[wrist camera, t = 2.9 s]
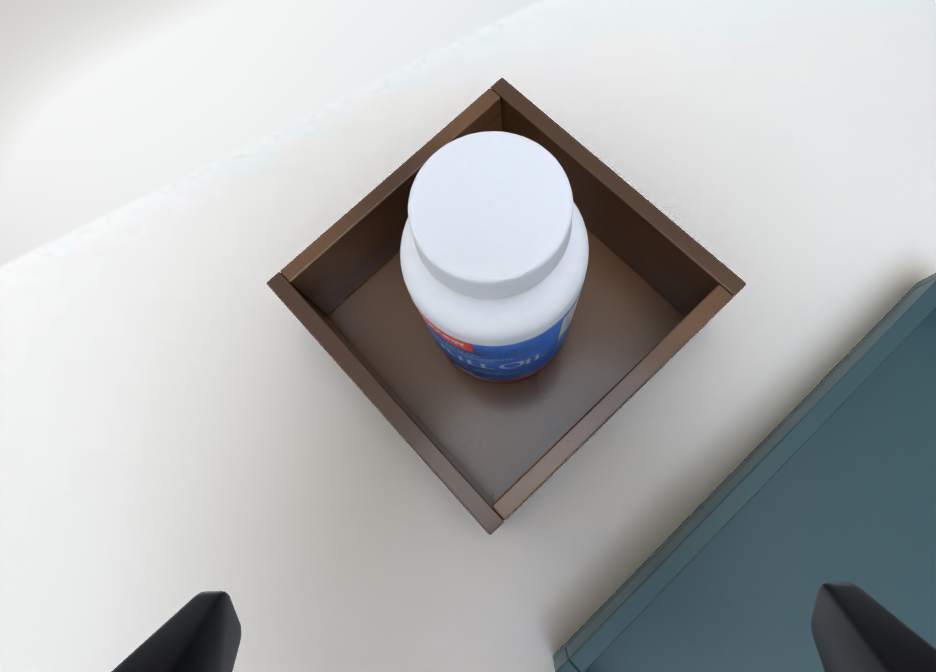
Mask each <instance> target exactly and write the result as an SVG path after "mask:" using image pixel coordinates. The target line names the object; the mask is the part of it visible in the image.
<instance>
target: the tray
mask: <svg viewBox="0 0 936 672" xmlns="http://www.w3.org/2000/svg"><path fill="white" fill-rule="evenodd" d="M826 582H849V583H853V584H855V585H856V586H858V587H859V588H861V589H862V590H863V591H864V592H866V593H867V594H868V595H869V596H871V597H872V598H873V599H874V600H876V601H877V602H878V603H879V604H881V605H882V606H883V607H884V608H886V609H887V610H888V611H889V612H891V613H892V614H893V615H894V616H896V617H897V618H898V619H899V620H901V621H902V622H903V623H904V624H906V625H907V626H908V627H909V628H911V629H912V630H913V631H914V632H915V633H917V634H918V635H919V636H920V637H922V638H923V639H924V640H925V641H927V642H928V643H929V644H930V645H932V646H933V647H934V648H935V649H936V273H935V274H933V275H931V276H930V277H928V278H926V279H924V280H922V281H920V282H918V283H917V284H916V285H915V286H914V287H913V288H912V289H911V290H910V291H909V292H908V293H907V294H906V295H905V296H904V297H903V299H902V300H901V301H900V302H899V303H898V304H897V305H896V306H895V307H894V308H893V309H892V310H891V311H890V312H889V313H888V314H887V315H886V316H885V317H884V318H883V319H882V320H881V321H880V322H879V323H878V324H877V325H876V326H875V327H874V328H873V329H872V330H871V331H870V332H869V333H868V334H867V335H866V336H865V337H864V338H863V339H862V341H861V342H860V343H859V344H858V345H857V346H856V347H855V348H854V349H853V350H852V351H851V352H850V353H849V354H848V355H847V356H846V357H845V358H844V359H843V360H842V361H841V362H840V363H839V364H838V365H837V366H836V367H835V368H834V369H833V370H832V371H831V372H830V373H829V374H828V375H827V376H826V377H825V378H824V379H823V380H822V381H821V383H820V384H819V385H818V386H817V387H816V388H815V389H814V390H813V391H812V392H811V393H810V394H809V395H808V396H807V397H806V398H805V399H804V400H803V401H802V402H801V403H800V404H799V405H798V406H797V407H796V408H795V409H794V410H793V411H792V412H791V413H790V414H789V415H788V416H787V417H786V418H785V419H784V420H783V421H782V422H781V423H780V425H779V426H778V427H777V428H776V429H775V430H774V431H773V432H772V433H771V434H770V435H769V436H768V437H767V438H766V439H765V440H764V441H763V442H762V443H761V444H760V445H759V446H758V447H757V448H756V449H755V450H754V451H753V452H752V453H751V454H750V455H749V456H748V457H747V458H746V459H745V460H744V461H743V462H742V463H741V464H740V465H739V467H738V468H737V469H736V470H735V471H734V472H733V473H732V474H731V475H730V476H729V477H728V478H727V479H726V480H725V481H724V482H723V483H722V484H721V485H720V486H719V487H718V488H717V489H716V490H715V491H714V492H713V493H712V494H711V495H710V496H709V497H708V498H707V499H706V500H705V501H704V502H703V503H702V504H701V505H700V506H699V508H698V509H697V510H696V511H695V512H694V513H693V514H692V515H691V516H690V517H689V518H688V519H687V520H686V521H685V522H684V523H683V524H682V525H681V526H680V527H679V528H678V529H677V530H676V531H675V532H674V533H673V534H672V535H671V536H670V537H669V538H668V539H667V540H666V541H665V542H664V543H663V544H662V545H661V546H660V547H659V548H658V550H657V551H656V552H655V553H654V554H653V555H652V556H651V557H650V558H649V559H648V560H647V561H646V562H645V563H644V564H643V565H642V566H641V567H640V568H639V569H638V570H637V571H636V572H635V573H634V574H633V575H632V576H631V577H630V578H629V579H628V580H627V581H626V582H625V583H624V584H623V585H622V586H621V587H620V588H619V589H618V590H617V592H616V593H615V594H614V595H613V596H612V597H611V598H610V599H609V600H608V601H607V602H606V603H605V604H604V605H603V606H602V607H601V608H600V609H599V610H598V611H597V612H596V613H595V614H594V615H593V616H592V617H591V618H590V619H589V620H588V621H587V622H586V623H585V624H584V625H583V626H582V627H581V628H580V629H579V630H578V631H577V632H576V634H575V635H574V636H573V637H572V638H571V639H570V640H569V641H568V642H567V643H566V644H565V645H564V646H563V647H562V648H561V649H560V650H559V651H558V652H557V653H556V654H555V655H554V656H553V660H554V666H555V672H825V670H824V667H823V664H822V662H821V659H820V656H819V653H818V650H817V647H816V644H815V641H814V638H813V634H812V629H811V619H812V614H813V610H814V606H815V602H816V598H817V594H818V590H819V587H820V586H821V585H822V584H823V583H826Z"/></svg>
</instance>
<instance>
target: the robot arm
mask: <svg viewBox="0 0 936 672" xmlns="http://www.w3.org/2000/svg"><path fill="white" fill-rule="evenodd" d="M811 629H812V634H813V638H814V641H815V644H816V647H817V650H818V653H819V656H820V659H821V662H822V664H823V667H824V670H825V672H936V649H935V648H934V647H933V646H932V645H930V644H929V643H928V642H927V641H925V640H924V639H923V638H922V637H920V636H919V635H918V634H917V633H915V632H914V631H913V630H912V629H911V628H909V627H908V626H907V625H906V624H904V623H903V622H902V621H901V620H899V619H898V618H897V617H896V616H894V615H893V614H892V613H891V612H889V611H888V610H887V609H886V608H884V607H883V606H882V605H881V604H879V603H878V602H877V601H876V600H874V599H873V598H872V597H871V596H869V595H868V594H867V593H866V592H864V591H863V590H862V589H861V588H859V587H858V586H856V585H855V584H853V583H849V582H826V583H823V584H822V585H821V586H820V587H819V590H818V594H817V598H816V602H815V606H814V610H813V614H812V619H811ZM240 639H241V625H240V622H239V619H238V617H237V614H236V612H235V609H234V606H233V604H232V601H231V599H230V596H229V595H228V594H227V593H226V592H224V591H206V592H201V593H199V594H198V595H196V596H195V597H194V598H193V599H191V600H190V601H189V602H188V603H187V604H186V605H185V606H184V607H183V608H181V609H180V610H179V611H178V612H177V613H176V614H175V615H174V616H173V617H171V618H170V619H169V620H168V621H167V622H166V623H165V624H164V625H163V626H161V627H160V628H159V629H158V630H157V631H156V632H155V633H154V634H153V635H152V636H150V637H149V638H148V639H147V640H146V641H145V642H144V643H143V644H142V645H140V646H139V647H138V648H137V649H136V650H135V651H134V652H133V653H132V654H130V655H129V656H128V657H127V658H126V659H125V660H124V661H123V662H122V663H120V664H119V665H118V666H117V667H116V668H115V669H114V670H113V671H112V672H232V671H233V667H234V663H235V659H236V655H237V652H238V648H239V644H240Z"/></svg>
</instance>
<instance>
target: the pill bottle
mask: <svg viewBox="0 0 936 672" xmlns="http://www.w3.org/2000/svg"><path fill="white" fill-rule="evenodd" d="M588 257H589V244H588V236H587V231H586V227H585V224H584V221H583V218H582V216H581V214H580V212H579V210H578V208H577V206H576V205H575V203H574V202H573V196H572V190H571V187H570V183H569V180H568V178H567V176H566V174H565V172H564V170H563V168H562V167H561V165H560V164H559V162H558V161H557V160H556V159H555V157H554V156H553V155H552V154H551V153H550V152H548V151H547V150H546V149H545V148H543V147H542V146H541V145H539V144H538V143H536V142H534V141H532V140H530V139H528V138H526V137H523V136H520V135H517V134H512V133H508V132H500V131H487V132H478V133H473V134H469V135H466V136H463V137H460V138H458V139H456V140H453V141H451V142H449V143H448V144H446V145H444V146H443V147H442V148H440V149H439V150H438V151H436V152H435V153H434V154H433V155H432V156H431V157H430V158H429V159H428V160H427V161H426V163H425V164H424V165H423V166H422V168H421V169H420V171H419V172H418V174H417V176H416V178H415V180H414V182H413V185H412V188H411V190H410V196H409V201H408V219H407V221H406V224H405V227H404V230H403V234H402V239H401V248H400V261H401V268H402V274H403V278H404V281H405V284H406V286H407V289H408V291H409V293H410V295H411V298H412V300H413V302H414V304H415V306H416V307H417V309H418V311H419V312H420V314H421V316H422V317H423V319H424V321H425V323H426V325H427V326H428V328H429V330H430V331H431V333H432V335H433V337H434V339H435V341H436V343H437V345H438V346H439V348H440V349H441V351H442V352H443V354H444V355H445V356H446V357H447V358H448V359H449V360H450V362H452V363H453V364H454V365H455V366H456V367H457V368H459V369H460V370H462V371H463V372H465V373H467V374H468V375H471V376H473V377H475V378H478V379H481V380H485V381H491V382H510V381H516V380H519V379H523V378H525V377H528V376H530V375H532V374H534V373H536V372H537V371H539V370H541V369H542V368H543V367H545V366H546V365H547V364H548V363H549V362H550V361H551V360H552V359H553V358H554V357H555V355H556V354H557V353H558V351H559V350H560V348H561V347H562V345H563V343H564V341H565V339H566V336H567V334H568V331H569V328H570V324H571V321H572V318H573V314H574V311H575V308H576V305H577V302H578V299H579V296H580V293H581V290H582V287H583V284H584V279H585V275H586V271H587V265H588Z"/></svg>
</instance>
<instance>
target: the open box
mask: <svg viewBox="0 0 936 672" xmlns="http://www.w3.org/2000/svg"><path fill="white" fill-rule="evenodd" d="M487 131H500V132H508V133H512V134H517V135H520V136H523V137H526V138H528V139H530V140H532V141H534V142H536V143H538V144H539V145H541V146H542V147H543V148H545V149H546V150H547V151H548V152H550V153H551V154H552V155H553V156H554V157H555V159H556V160H557V161H558V162H559V164H560V165H561V167H562V168H563V170H564V172H565V174H566V176H567V178H568V180H569V183H570V187H571V190H572V196H573V202H574V203H575V205H576V206H577V208H578V210H579V212H580V214H581V216H582V218H583V221H584V224H585V227H586V231H587V236H588V244H589V257H588V265H587V271H586V275H585V279H584V284H583V287H582V290H581V293H580V296H579V299H578V302H577V305H576V308H575V311H574V314H573V318H572V321H571V324H570V328H569V331H568V334H567V336H566V339H565V341H564V343H563V345H562V347H561V348H560V350H559V351H558V353H557V354H556V355H555V357H554V358H553V359H552V360H551V361H550V362H549V363H548V364H547V365H546V366H545V367H543V368H542V369H541V370H539V371H537V372H536V373H534V374H532V375H530V376H528V377H525V378H523V379H519V380H516V381H510V382H491V381H485V380H481V379H478V378H475V377H473V376H471V375H468V374H467V373H465V372H463V371H462V370H460V369H459V368H457V367H456V366H455V365H454V364H453V363H452V362H450V360H449V359H448V358H447V357H446V356H445V355H444V354H443V352H442V351H441V349H440V348H439V346H438V345H437V343H436V341H435V339H434V337H433V335H432V333H431V331H430V330H429V328H428V326H427V325H426V323H425V321H424V319H423V317H422V316H421V314H420V312H419V311H418V309H417V307H416V306H415V304H414V302H413V300H412V298H411V295H410V293H409V291H408V289H407V286H406V284H405V281H404V278H403V274H402V268H401V261H400V248H401V239H402V234H403V230H404V227H405V224H406V221H407V219H408V201H409V196H410V190H411V188H412V185H413V182H414V180H415V178H416V176H417V174H418V172H419V171H420V169H421V168H422V166H423V165H424V164H425V163H426V161H427V160H428V159H429V158H430V157H431V156H432V155H433V154H434V153H435V152H436V151H438V150H439V149H440V148H442V147H443V146H444V145H446V144H448V143H449V142H451V141H453V140H456V139H458V138H460V137H463V136H466V135H469V134H473V133H478V132H487ZM267 285H268V286H269V287H270V288H271V289H272V290H273V292H274V293H275V294H276V295H277V296H278V297H279V298H280V299H281V301H282V302H283V303H284V304H285V305H286V306H287V307H288V308H289V310H290V311H291V312H292V313H293V314H294V315H295V316H296V317H297V319H298V320H299V321H300V322H301V323H302V324H303V325H304V326H305V328H306V329H307V330H308V331H309V332H310V333H311V334H312V335H313V337H314V338H315V339H316V340H317V341H318V342H319V343H320V344H321V346H322V347H323V348H324V349H325V350H326V351H327V352H328V354H329V355H330V356H331V357H332V358H333V359H334V360H335V361H336V363H337V364H338V365H339V366H340V367H341V368H342V369H343V370H344V372H345V373H346V374H347V375H348V376H349V377H350V378H351V379H352V381H353V382H354V383H355V384H356V385H357V386H358V387H359V388H360V390H361V391H362V392H363V393H364V394H365V395H366V396H367V397H368V399H369V400H370V401H371V402H372V403H373V404H374V405H375V406H376V408H377V409H378V410H379V411H380V412H381V413H382V414H383V416H384V417H385V418H386V419H387V420H388V421H389V422H390V423H391V425H392V426H393V427H394V428H395V429H396V430H397V431H398V432H399V434H400V435H401V436H402V437H403V438H404V439H405V440H406V441H407V443H408V444H409V445H410V446H411V447H412V448H413V449H414V450H415V452H416V453H417V454H418V455H419V456H420V457H421V458H422V459H423V461H424V462H425V463H426V464H427V465H428V466H429V467H430V469H431V470H432V471H433V472H434V473H435V474H436V475H437V476H438V478H439V479H440V480H441V481H442V482H443V483H444V484H445V485H446V487H447V488H448V489H449V490H450V491H451V492H452V493H453V494H454V496H455V497H456V498H457V499H458V500H459V501H460V502H461V503H462V505H463V506H464V507H465V508H466V509H467V510H468V511H469V512H470V514H471V515H472V516H473V517H474V518H475V519H476V520H477V521H478V523H479V524H480V525H481V526H482V527H483V528H484V529H485V531H486V532H487V533H488V534H489V535H491V534H492V533H493V532H494V531H495V530H497V529H498V528H499V527H500V526H501V525H502V524H503V523H504V522H505V521H506V520H507V519H508V518H509V517H510V516H511V515H512V514H513V513H514V512H515V511H516V510H517V509H518V508H519V507H520V506H521V505H522V504H523V503H524V502H525V501H526V500H527V499H528V498H529V497H530V496H531V495H532V494H533V493H534V492H535V491H536V490H537V489H538V488H539V487H540V486H541V485H542V484H543V483H545V482H546V481H547V480H548V479H549V478H550V477H551V476H552V475H553V474H554V473H555V472H556V471H557V470H558V469H559V468H560V467H561V466H562V465H563V464H564V463H565V462H566V461H567V460H568V459H569V458H570V457H571V456H572V455H573V454H574V453H575V452H576V451H577V450H578V449H579V448H580V447H581V446H582V445H583V444H584V443H585V442H586V441H587V440H588V439H589V438H590V437H591V436H592V435H593V434H594V433H596V432H597V431H598V430H599V429H600V428H601V427H602V426H603V425H604V424H605V423H606V422H607V421H608V420H609V419H610V418H611V417H612V416H613V415H614V414H615V413H616V412H617V411H618V410H619V409H620V408H621V407H622V406H623V405H624V404H625V403H626V402H627V401H628V400H629V399H630V398H631V397H632V396H633V395H634V394H635V393H636V392H637V391H638V390H639V389H640V388H641V387H642V386H643V385H644V384H646V383H647V382H648V381H649V380H650V379H651V378H652V377H653V376H654V375H655V374H656V373H657V372H658V371H659V370H660V369H661V368H662V367H663V366H664V365H665V364H666V363H667V362H668V361H669V360H670V359H671V358H672V357H673V356H674V355H675V354H676V353H677V352H678V351H679V350H680V349H681V348H682V347H683V346H684V345H685V344H686V343H687V342H688V341H689V340H690V339H691V338H692V337H693V336H694V335H695V334H697V333H698V332H699V331H700V330H701V329H702V328H703V327H704V326H705V325H706V324H707V323H708V322H709V321H710V320H711V319H712V318H713V317H714V316H715V315H716V314H717V313H718V312H719V311H720V310H721V309H722V308H723V307H724V306H725V305H726V304H727V303H728V302H729V301H730V300H731V299H732V298H733V297H734V296H735V295H736V294H737V293H738V292H739V291H740V290H741V289H742V288H743V287H744V286H745V285H746V283H745V282H744V281H743V280H741V279H740V278H739V277H738V276H737V275H736V274H734V273H733V272H732V271H731V270H730V269H728V268H727V267H726V266H725V265H724V264H723V263H721V262H720V261H719V260H718V259H717V258H715V257H714V256H713V255H712V254H711V253H709V252H708V251H707V250H706V249H705V248H704V247H702V246H701V245H700V244H699V243H698V242H696V241H695V240H694V239H693V238H692V237H690V236H689V235H688V234H687V233H686V232H685V231H683V230H682V229H681V228H680V227H679V226H677V225H676V224H675V223H674V222H673V221H672V220H670V219H669V218H668V217H667V216H666V215H664V214H663V213H662V212H661V211H660V210H658V209H657V208H656V207H655V206H654V205H653V204H651V203H650V202H649V201H648V200H647V199H645V198H644V197H643V196H642V195H641V194H640V193H638V192H637V191H636V190H635V189H634V188H632V187H631V186H630V185H629V184H628V183H626V182H625V181H624V180H623V179H622V178H621V177H619V176H618V175H617V174H616V173H615V172H613V171H612V170H611V169H610V168H609V167H608V166H606V165H605V164H604V163H603V162H602V161H600V160H599V159H598V158H597V157H596V156H594V155H593V154H592V153H591V152H590V151H589V150H587V149H586V148H585V147H584V146H583V145H581V144H580V143H579V142H578V141H577V140H575V139H574V138H573V137H572V136H571V135H570V134H568V133H567V132H566V131H565V130H564V129H562V128H561V127H560V126H559V125H558V124H557V123H555V122H554V121H553V120H552V119H551V118H549V117H548V116H547V115H546V114H545V113H543V112H542V111H541V110H540V109H539V108H538V107H536V106H535V105H534V104H533V103H532V102H530V101H529V100H528V99H527V98H526V97H525V96H523V95H522V94H521V93H520V92H519V91H517V90H516V89H515V88H514V87H513V86H511V85H510V84H509V83H508V82H507V81H506V80H504V79H503V78H501V79H500V80H499V81H497V82H496V83H495V84H494V85H493V86H492V87H491V89H488V90H487V91H486V92H485V93H484V94H483V95H481V96H480V97H479V98H478V99H477V100H476V101H475V102H473V103H472V104H471V105H470V106H469V107H468V108H467V109H465V110H464V111H463V112H462V113H461V114H460V115H459V116H457V117H456V118H455V119H454V120H453V121H452V122H451V123H449V124H448V125H447V126H446V127H445V128H444V129H443V130H441V131H440V132H439V133H438V134H437V135H436V136H435V137H433V138H432V139H431V140H430V141H429V142H428V143H427V144H425V145H424V146H423V147H422V148H421V149H420V150H419V151H417V152H416V153H415V154H414V155H413V156H412V157H411V158H409V159H408V160H407V161H406V162H405V163H404V164H402V165H401V166H400V167H399V168H398V169H397V170H396V171H394V172H393V173H392V174H391V175H390V176H389V177H388V178H386V179H385V180H384V181H383V182H382V183H381V184H380V185H378V186H377V187H376V188H375V189H374V190H373V191H372V192H370V193H369V194H368V195H367V196H366V197H365V198H364V199H362V200H361V201H360V202H359V203H358V204H357V205H356V206H354V207H353V208H352V209H351V210H350V211H349V212H348V213H346V214H345V215H344V216H343V217H342V218H341V219H340V220H338V221H337V222H336V223H335V224H334V225H333V226H332V227H330V228H329V229H328V230H327V231H326V232H325V233H323V234H322V235H321V236H320V237H319V238H318V239H317V240H315V241H314V242H313V243H312V244H311V245H310V246H309V247H307V248H306V249H305V250H304V251H303V252H302V253H301V254H299V255H298V256H297V257H296V258H295V259H294V260H293V261H291V262H290V263H289V264H288V265H287V266H286V267H285V268H283V269H282V270H281V273H280V272H279V273H277V274H276V275H275V276H274V277H273V278H272V279H270V280H269V281H268V282H267Z"/></svg>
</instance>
